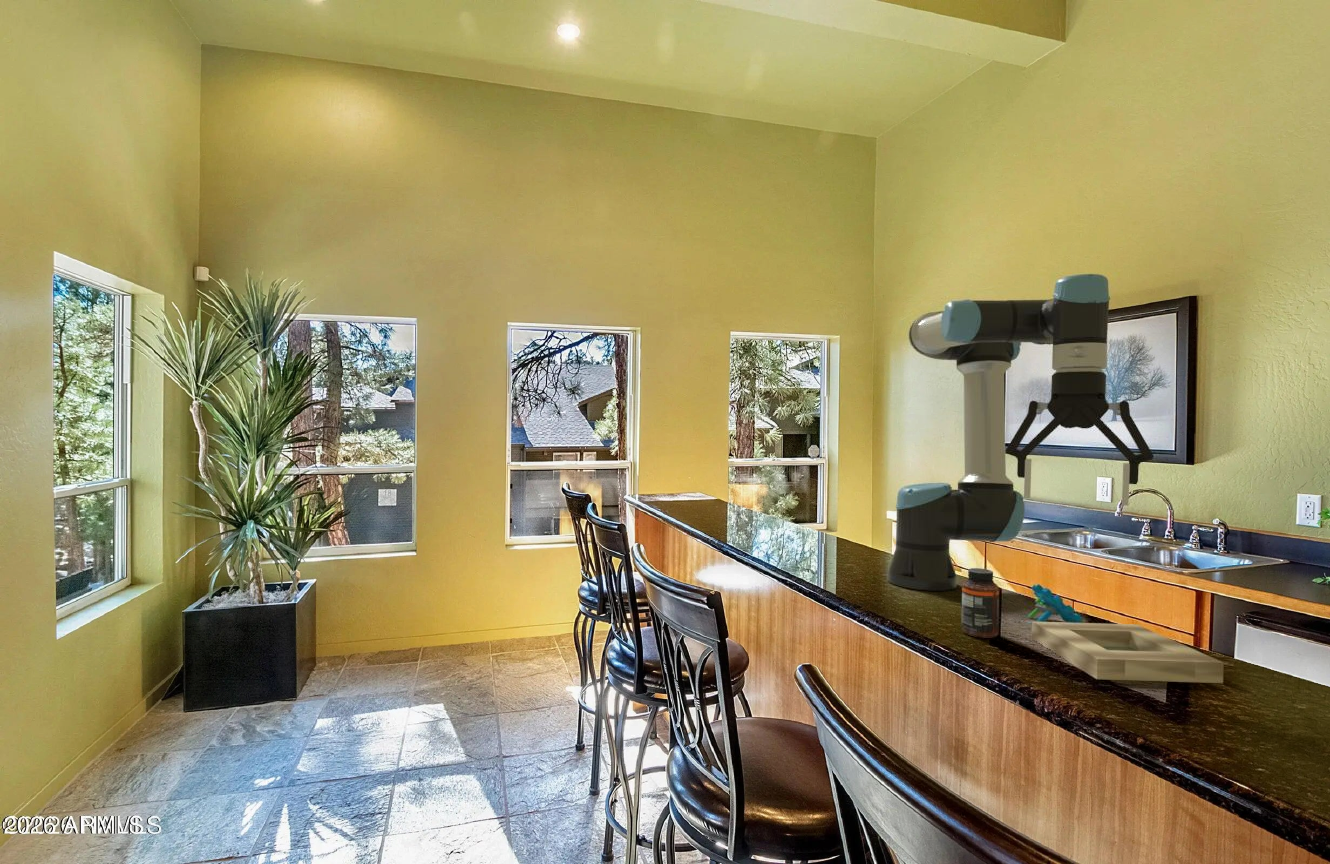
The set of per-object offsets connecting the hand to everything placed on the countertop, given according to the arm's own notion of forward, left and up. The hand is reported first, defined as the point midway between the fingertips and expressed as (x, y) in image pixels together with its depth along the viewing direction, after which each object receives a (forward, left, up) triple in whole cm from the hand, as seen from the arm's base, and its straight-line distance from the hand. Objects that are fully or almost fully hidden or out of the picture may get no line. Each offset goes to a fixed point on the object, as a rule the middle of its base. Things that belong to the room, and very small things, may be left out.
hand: (1074, 501), depth 107 cm
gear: (-15, +6, -25) cm, 30 cm away
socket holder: (+3, +6, -25) cm, 26 cm away
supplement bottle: (-8, -11, -25) cm, 28 cm away
